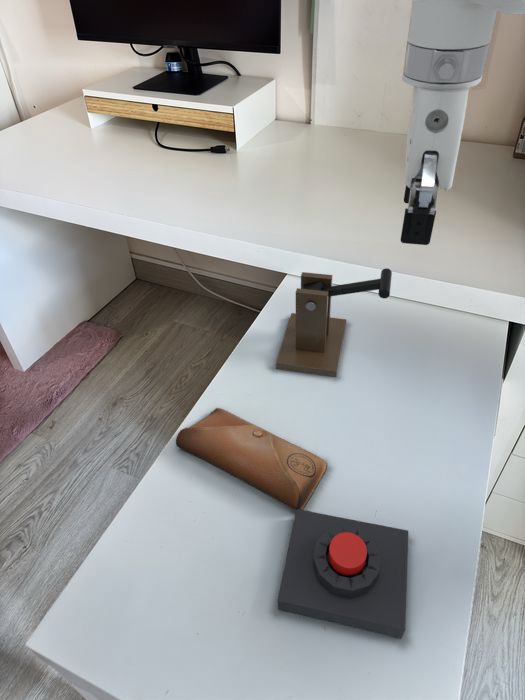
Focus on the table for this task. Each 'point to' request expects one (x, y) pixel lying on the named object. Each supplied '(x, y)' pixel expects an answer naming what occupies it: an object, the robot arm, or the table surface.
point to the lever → (357, 286)
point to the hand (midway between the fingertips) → (415, 221)
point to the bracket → (312, 332)
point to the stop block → (346, 591)
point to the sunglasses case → (254, 457)
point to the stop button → (347, 553)
